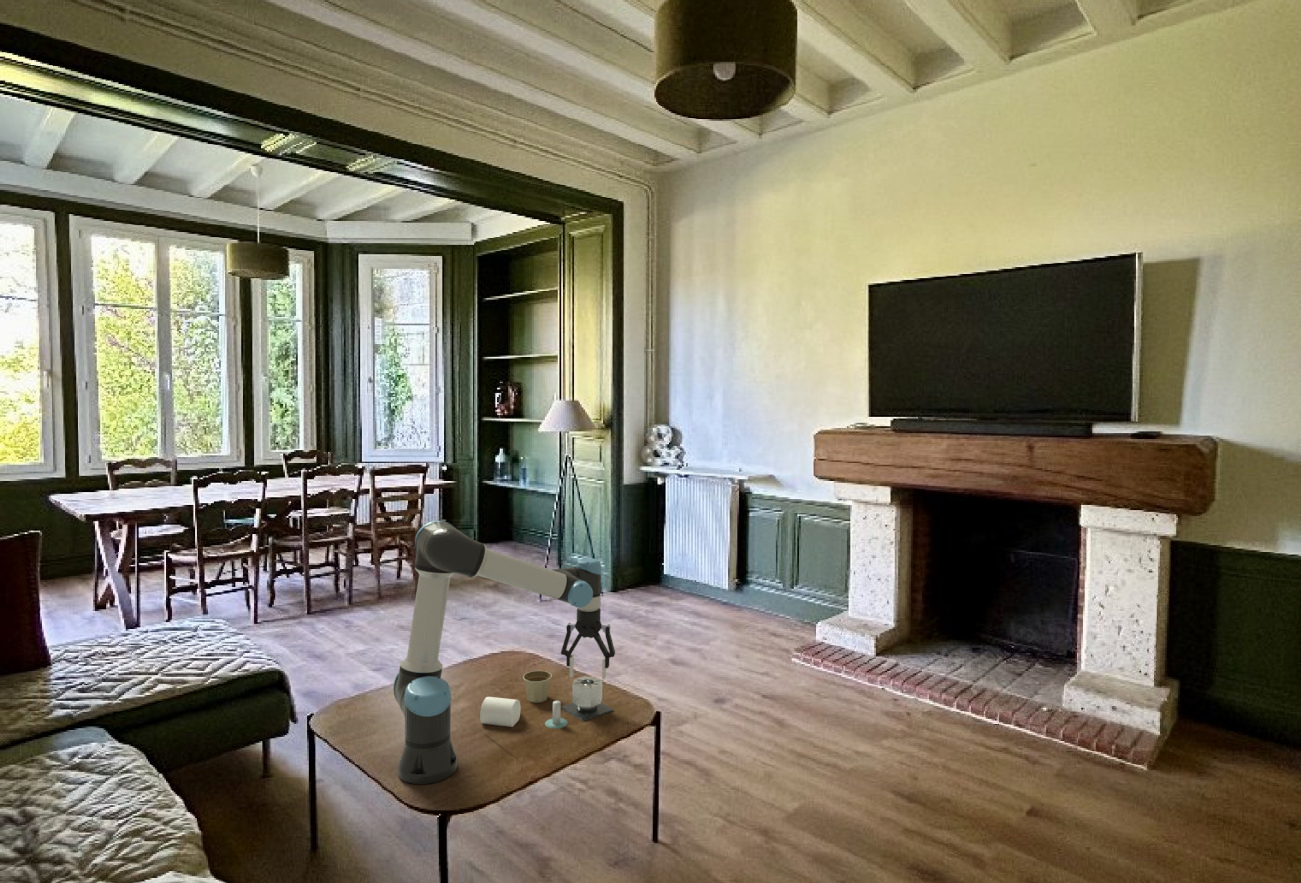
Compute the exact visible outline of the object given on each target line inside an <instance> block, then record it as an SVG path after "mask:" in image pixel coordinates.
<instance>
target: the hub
mask: <svg viewBox="0 0 1301 883" xmlns="http://www.w3.org/2000/svg"><path fill="white" fill-rule="evenodd" d="M591 684H592V683H590V682H586V683H584V684H583V685H591ZM561 710H563V711H565V712H566V713H568V714H570V715H571V716H573V717H575V718H576V719H578V720H580V721H582V722H586V721H589V720H591V719H594V718H597V717H600V716H603V715H605V714H610V713H612V712H614V711H615V709H614V708H612V707H610V706H609V705H607V704H605V703H603V702H602V701H601V703H600V704H598V705H595V706H592V707H585V706H578V705H576V704H574V703H573V702H571V703H569V704H568V703H567V704H565V705H562V706H561Z"/></svg>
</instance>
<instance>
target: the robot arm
mask: <svg viewBox="0 0 1301 883" xmlns="http://www.w3.org/2000/svg"><path fill="white" fill-rule="evenodd" d="M414 548H415V550H416V555H415V563H414V569H415V571H416V572H417V573H418V578H417V579H418V580H417V587H416V593H415V594H416V595H415V600H414V608H413V615H412V621H411V628H410V634H409V641H408V642H409V643H408V649H407V653H406V657H405V658H404V659H403V660H401V662H399V669H398V673H397V674H396V676H395V678H394V681H393V695H394V698H395V700H396V702H397V704H398V706H399V708H400V710H401V712H402V714H403V717H404V729H405V730H404V747H403V750H402V752H401V756H400V758H399V762H398V765H397V766H398V767H397V774H398V777H399V779H400V780H401V781H403V782H405V783H408V784H414V785H427V784H434V783H437V782H440V781H443V780H445V779H447V778H450V776H452V775H453V774H454V773H455V772H456V771H457V769H458V757H457V753H456V751H455V749H454V748H455V747H454V745H453V742H452V739H451V722H452V721H451V719H452V718H451V714H452V713H451V709H452V708H451V705H452V704H451V701H452V691H451V687H450V685H449V682H447V681H446V680H445V679H443V678H442V672H443V664H442V662H441V661H440V660H439V656H440V655H439V654H440V649H441V644H442V643H441V641H442V637H443V636H442V635H443V628H444V622H445V615H446V608H447V603H448V602H447V601H448V595H449V589H450V582H451V577H453V575H455V574H457V575H459V576H460V575H461V576H464V577H469V578H472V579H473V578H475V577H477V576H478V577H482V578H485V579H488V580H492V581H494V582H498V583H502V584H506V585H509V586H512V587H515V588H518V589H522V590H526V591H528V592H532V593H536V594H538V595H542V596H545V597H549V598H552V599H555V600H558V601H560V602H564V603H567V604H569V605H570V606H573V607H575V608H577V609H576V622H575V623H571V622H568V623H567V625H566V634H565V636H564V637H565V638H564V641H563V644H562V647H561V651H560V654H561V655H562V656H565V657H566V667H569V678H570V679H572V678H573V676H574V669H575V668H574V665H575V664H574V662H575V659H574V658H575V657H574V654H572V653H573V652H574V650H575V648H576V647H577V645H578V643H579V641H581V639H582V638H585V639H586V638H589V639H594V641H595V642H596V644H597V646H598V647H599V649H600V651H601V654H603V657H602V672H601V676H602V677H601V680H605V679H606V675H607V669H609V668H610V658H614V657H615V655H616V650H615V645H614V642H613V638H612V634H611V624H606V625H604V624H602V621H601V616H602V615H601V613H602V612H601V604H602V601H601V599H602V597H601V594H602V591H601V590H602V588H601V587H602V586H601V585H602V565H601V564H602V563H601V561H600V560H598V559H597V558H589V557H587V558H586V557H585V558H580V559H578V560H577V562H576V566H573V567H565V568H563V567H562V568H557V569H556V568H554V569H553V568H551V569H550V568H546V567H544V566H541V565H539V564H535V563H531V562H528V561H525V560H523V559H519V558H516V557H513V556H510V555H507V554H503V553H500V552H499V551H495V550H492V549H488V548H487V546H486V544H485V543H483V542H479V541H477V540H474V539H472V538H471V537H469V536H467V535H466V534H464V533H463V532H461V531H460V530H458V529H457V528H456V527H455V526H454V525H452V524H451V523H449V522H446V521H443V520H433V521H430V522H427V523H425V524H424V525H423V526H421V527H420V528H419V530H418V531H417V532H416V534H415V539H414ZM575 629H576V630H577V632H578V634H577V635H576V637H575V639H574V641H573V643H572V644H571V646H570V647H569V649H567V648H568V645H569V642H570V639H571V635H572V632H573V631H574V630H575ZM601 630H602V632H603V633H604V634H605V635H604V637H605V640H606V643H607V647H608V648H607V647H606V644H605V642H604V640H603V639H602V637H601V635H600V632H601Z"/></svg>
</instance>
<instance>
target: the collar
mask: <svg viewBox="0 0 1301 883" xmlns="http://www.w3.org/2000/svg"><path fill="white" fill-rule="evenodd" d="M586 682H590V683H592V684H591V685H583V684H584V683H586ZM571 687H572V688H571V689H572V691H571V692H572V697H571V698H572V699H571V700H572V701H571V703H574V704H576V705H578V706H585V707H592V706H595V705H598V704H600V703H601V702H602V700H603V679H600V678H598V677H596V676H580V677H577V678H574V680H573V682H572V686H571Z"/></svg>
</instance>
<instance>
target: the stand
mask: <svg viewBox="0 0 1301 883" xmlns="http://www.w3.org/2000/svg"><path fill="white" fill-rule="evenodd" d="M561 704H562V702H561V701H560V700H554V701H552V718H549V719H547V720H546V721H545V722H544V725H545V727H547V728H550V729H555V730H556V729H562V728H564V727H567V726H568V725H569V722H568V720H567V719H565V718H563V717H562V716H561V715H562V714H561V710H562V709H561Z"/></svg>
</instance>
